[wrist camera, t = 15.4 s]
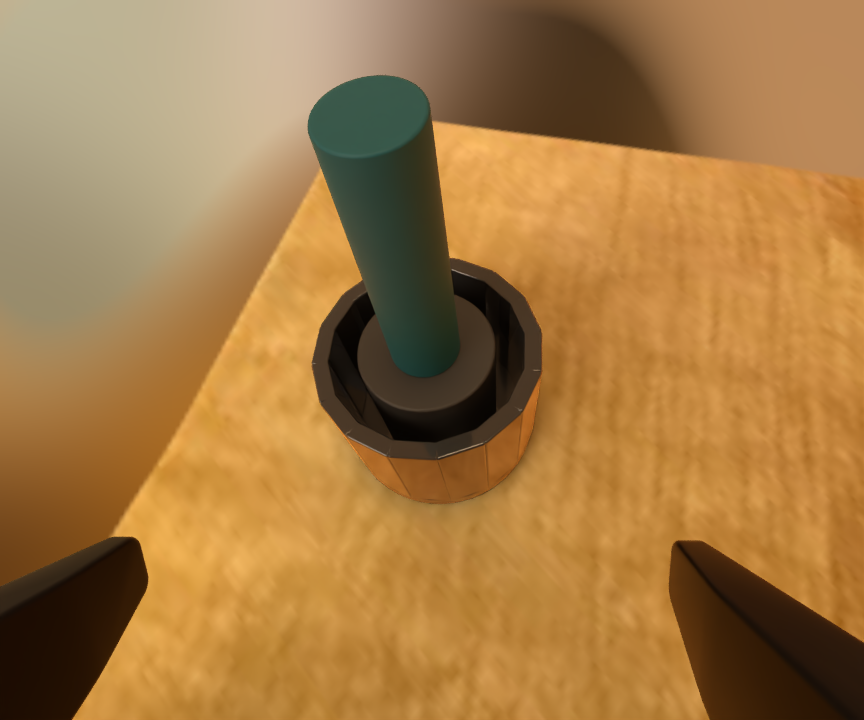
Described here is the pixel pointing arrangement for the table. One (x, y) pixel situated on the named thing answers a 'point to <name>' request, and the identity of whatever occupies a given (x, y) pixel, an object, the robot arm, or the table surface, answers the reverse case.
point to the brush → (404, 261)
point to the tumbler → (456, 456)
